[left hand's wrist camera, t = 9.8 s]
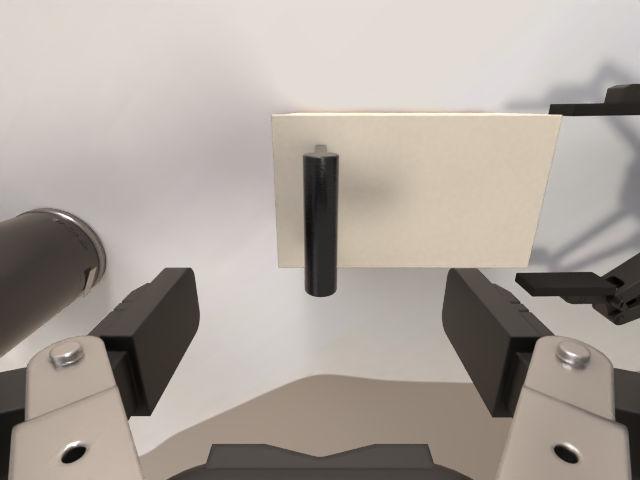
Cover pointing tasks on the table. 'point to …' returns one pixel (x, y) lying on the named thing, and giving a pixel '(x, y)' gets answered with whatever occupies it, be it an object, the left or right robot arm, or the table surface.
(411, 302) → the table surface
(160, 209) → the table surface
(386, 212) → the lid
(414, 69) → the table surface
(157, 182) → the table surface
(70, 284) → the left robot arm
